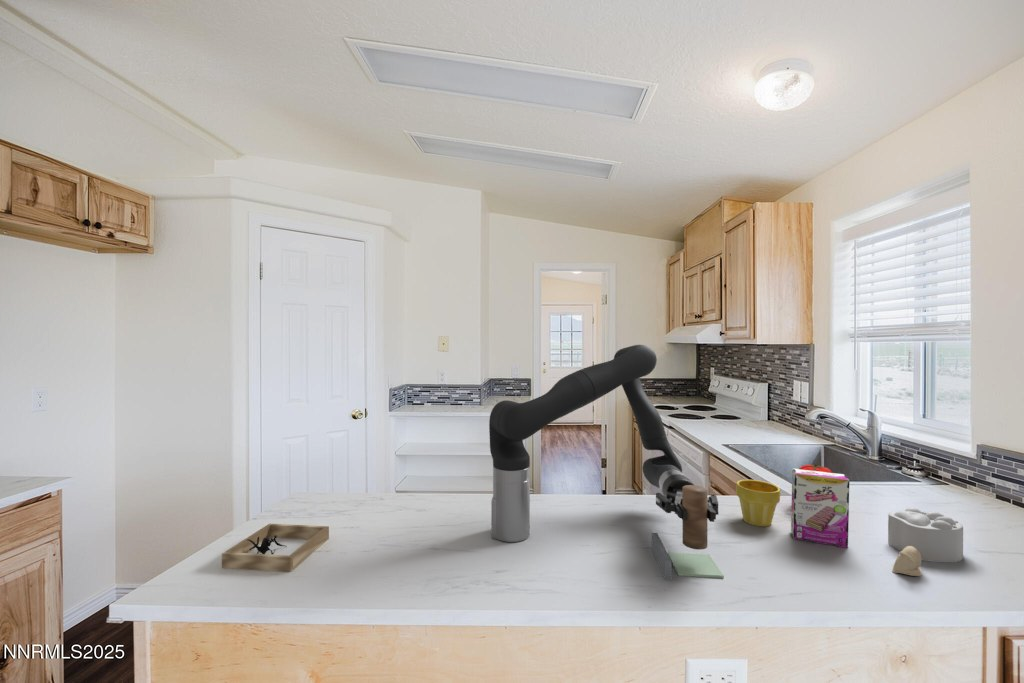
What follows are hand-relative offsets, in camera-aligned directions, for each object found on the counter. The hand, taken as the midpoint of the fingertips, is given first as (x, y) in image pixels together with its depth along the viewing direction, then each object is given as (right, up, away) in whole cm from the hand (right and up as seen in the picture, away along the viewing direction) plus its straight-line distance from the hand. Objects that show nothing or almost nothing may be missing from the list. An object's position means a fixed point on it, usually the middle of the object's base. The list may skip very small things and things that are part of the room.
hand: (698, 516), depth 93 cm
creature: (-96, -12, +9) cm, 97 cm away
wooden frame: (-93, -11, +8) cm, 94 cm away
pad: (0, -12, +3) cm, 12 cm away
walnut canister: (0, -7, +3) cm, 7 cm away
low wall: (-7, -12, +3) cm, 14 cm away
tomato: (+48, -12, +34) cm, 60 cm away
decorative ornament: (+44, -12, 0) cm, 46 cm away
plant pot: (+27, -12, +26) cm, 39 cm away
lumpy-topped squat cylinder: (+57, -12, +10) cm, 59 cm away
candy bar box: (+36, -12, +15) cm, 40 cm away
